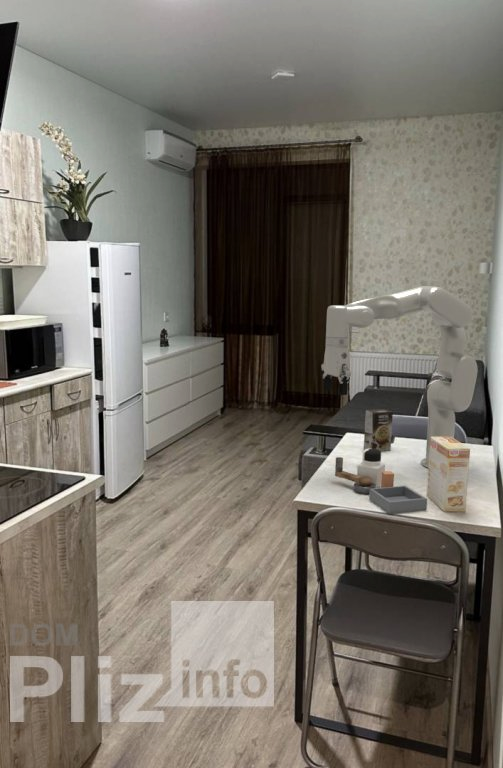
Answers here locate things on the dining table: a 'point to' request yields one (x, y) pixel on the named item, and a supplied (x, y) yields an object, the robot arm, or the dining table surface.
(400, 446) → the dining table surface
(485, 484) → the dining table surface
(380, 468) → the medicine bottle
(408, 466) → the dining table surface
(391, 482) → the block
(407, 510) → the tray
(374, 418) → the coffee box
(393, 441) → the cell phone
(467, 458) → the coffeecake box
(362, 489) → the crank base
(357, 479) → the crank
